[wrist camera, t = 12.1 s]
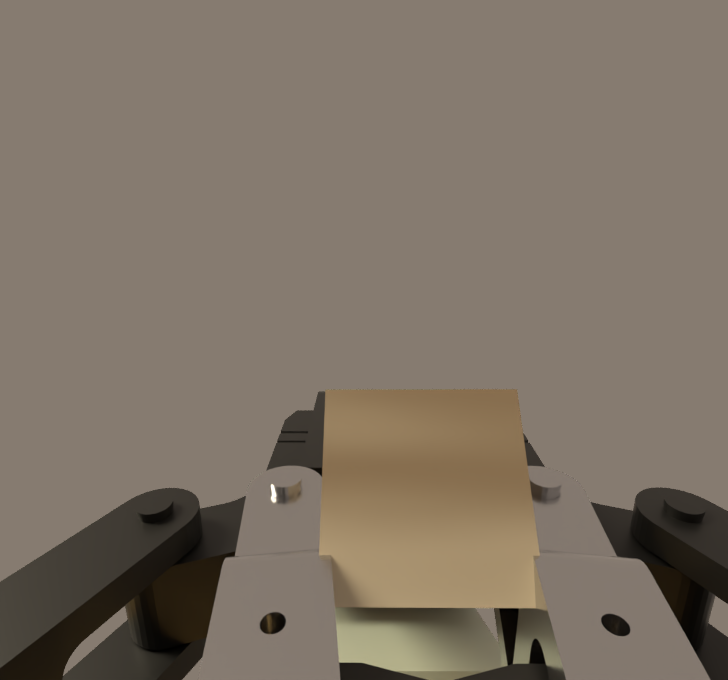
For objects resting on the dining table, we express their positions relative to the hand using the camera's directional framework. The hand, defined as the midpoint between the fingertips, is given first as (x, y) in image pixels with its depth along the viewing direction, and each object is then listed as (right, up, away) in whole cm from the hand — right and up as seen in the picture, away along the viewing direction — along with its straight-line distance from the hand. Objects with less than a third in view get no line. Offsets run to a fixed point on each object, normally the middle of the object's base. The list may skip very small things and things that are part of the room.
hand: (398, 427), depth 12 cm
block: (0, -5, +3) cm, 6 cm away
